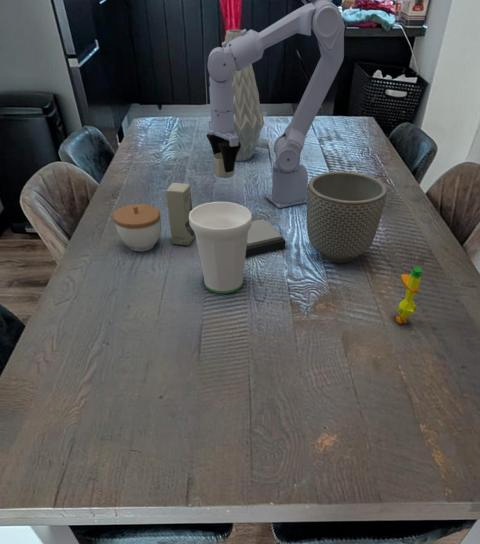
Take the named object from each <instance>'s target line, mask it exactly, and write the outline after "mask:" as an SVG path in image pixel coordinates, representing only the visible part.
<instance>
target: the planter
mask: <svg viewBox="0 0 480 544" xmlns="http://www.w3.org/2000/svg"><path fill="white" fill-rule="evenodd" d="M387 194H388V189H387V186H386V185H385V183H383V181H381V180H380V179H378V178H376V177H374V176H372V175H368V174H365V173H360V172H356V171H343V170H342V171H341V170H340V171H339V170H338V171H327V172H323V173H319V174H317V175H315V176H313V177H311V179H309V180H308V187H307V203H306V232H307V236H308V237H307V239H308V242H309V243H310V245H311V247H312V248H313V249H314V250H315V251H316V252H318V253H319V255H320V256H321V258H323V259H324V260H325V261H327V262H330V263H333V264H334V263H336V264H346V263H349V262H352V261H354V260H355V258H357V257H358V256H360V255H361V256H362V254H364V253H365V252H366V251H367V250H369V249H370V247H371V245H372V244H373V242H374V240H375V237H376V235H377V231H378V228H379V225H380V222H381V219H382V216H383V211H384V207H385V204H386V200H387V196H388V195H387Z"/></svg>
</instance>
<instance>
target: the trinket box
mask: <svg viewBox="0 0 480 544" xmlns="http://www.w3.org/2000/svg"><path fill="white" fill-rule="evenodd" d="M112 220H113V223H114V227H115V229H116V233H117V235H118V237H119V239H120V241H121V242H122V243H123V244H124V245H126V246H127V247H128V248H129V249H130V250H132V251H135V252H146V251H149V250H152V249H153V248H154V247H155V246H156V244H157V243H158V241H159V239H160V238H161V233H162V222H161V211H160V210H159V209H158V208H157V207H155V206H154V205H150V204H145V203H135V204H128V205H127V204H126V205H125V206H121V207H119V208H117V209H115V211H114V212H113V214H112Z"/></svg>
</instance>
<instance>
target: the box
mask: <svg viewBox="0 0 480 544" xmlns="http://www.w3.org/2000/svg"><path fill="white" fill-rule="evenodd" d="M165 195H166V196H165V197H166V203H167V211H168V219H169V226H170V235H171V242H172V244H174V245H179V246H189V245H190V244H191V243H192V242H193V240H194V239H195V238H196V235H195V232H194V231H193V230H192V228H191V227H190V223H189V213H190V211H192V210H193V203H192V193H191V184H189V183H182V182H172V183H171V184H170V185H169V186H168V187H167V188H166V189H165Z"/></svg>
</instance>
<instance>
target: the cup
mask: <svg viewBox="0 0 480 544" xmlns="http://www.w3.org/2000/svg"><path fill="white" fill-rule="evenodd" d="M251 222H252V212H251V211H250V209H248V207H247V206H244V205H241V204H240V203H235V202H230V201H212V202H205V203H202V204H199V205H197V206H195V207H194V208H192V211H190V213H189V223H190V227H191V228H192V230H193V231H194V233H195V239H196V244H197V250H198V255H199V259H200V264H201V269H202V274H203V280H204V286H205V288H206V289H207V290H208V291H210V292H212V293H216V294H231V293H234V292H237V291H239V290H240V289H241V288H242V286H243V285H244V283H243V282H244V272H245V264H246V258H245V256H246V246H247V237H248V231H249V229H250V228H251Z"/></svg>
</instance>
